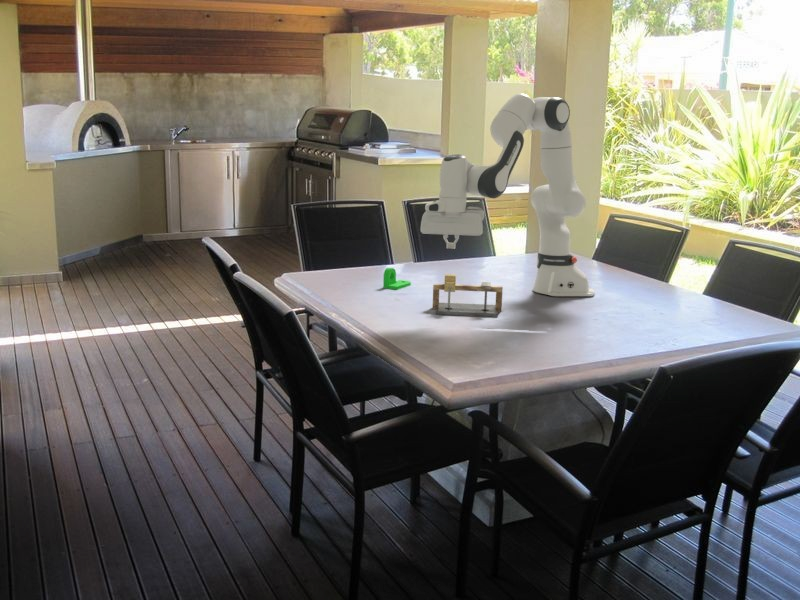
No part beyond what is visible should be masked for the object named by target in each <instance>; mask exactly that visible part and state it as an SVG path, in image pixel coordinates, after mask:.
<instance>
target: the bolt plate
mask: <svg viewBox="0 0 800 600" xmlns="http://www.w3.org/2000/svg"><path fill="white" fill-rule="evenodd" d="M495 306H496V304H486V310H484V303H483V304H481V303H459V302H456V303H455V302H450V308H448V302H439V305H437V308H436V309H435V315H436V316H437V315H439V316H440V315H441V316H444V315H445V316H462V317H463V316H465V317H485V318H498V313H499V311H497V308H496V307H495Z"/></svg>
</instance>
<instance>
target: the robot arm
mask: <svg viewBox="0 0 800 600" xmlns="http://www.w3.org/2000/svg"><path fill="white" fill-rule="evenodd" d="M570 111H571V110H570V106H569V104H568V102H567V100H565V99H564V98H561V97H558V96H557V97H555V96H553V97H552V96H551V97H547V96H546V97H545V96H539V97H534V98H531V97H530V96H529V95H528V94H525V93H516V94H514V95H512V96H511V97H510V98H509V99H507V101H506V102H505V103H504V104H503V105H502V107H501V108H500V109H499V111H498V112H497V114H496V115H495V116H494V118H493V119H492V121H491V124H490V128H489V129H490V135H491V137H492V139H493V140H494V141H495V143H496V144H497V145H499V147H501V148H502V149H501V151H500V154H499V156H498V158H497V160H496V161H495V163H494V164H491V165H488V166H486V165H477V164H475V163H472V162H470V161H469V160H468V159H467V156H466V155H464V154H451V155H450V154H449V155H446V156H445V157H443V159H442V161H441V165H440V171H439V186H440V190H439V196H438V199H437V200H433V201H431V202H430V201H429V202H428V203H426V204H425V207H424V209H425V211H424V213H423V214H422V217H421V221H420V228H419V230H420V233H421V234H424V235H442V236H443V237H442V238H443V240H444V241H445V244H446V246H445V247H446V249H451V250H452V249H456V244H457V243H458V241H459V240H460V236H471V237H472V236H476V237H477V236H478V237H480V236H481V235H482V234H483V233H484V230H483V229H484V228H483V227H484V226H483V225H484V224H483V221H484V219H485V215H486V214H485V210H484V209H483V208H481V207H479V206H469V205H468V206H467V199H468V198H467V197H468V196H467V195H471V196H477V197H478V196H480V197H484V198H489V199H497V198H500V197H501V196H502V195H503V194H504V193H505V191H506V189H507V187H508V184H509V183H508V182H509V179H510V177H511V175H512V172H513V170H514V168H515V165H516V163H517V161H518V159H519V157H520V154H521V152H522V150H523V147H524V144H525V143H524V142H525V138H524V136H523V135H524V133H525V132H526V130H528V131H529V130H530V131H539V132H540V140H539V141H540V143H539V144H540V145H539V149H540V168H541V169H540V170H541V172H542V173H543V175H544V177H545V179H546V181H547V184H544V185H539V186H537V187H536V188H534V189H533V191H532V192H531V196H530V204H531V206H532V208H534V209H533V210H534V211H535V213H536V216H537V222H538V227H539V246H538V247H539V249H538V253H537V257H536V268H537V270H536V271H537V272H536V275H535V280H534V284H533V286H532V287H533V288H532V291H533V292H535V293H537V294H543V295H548V296H551V297H593V296H595V290H594V288H591V287H590V284H589V278H588V276H587V275H586V274H585V273H584V272H583V271H582V270H581V269H580V268H578V267H577V266H576V265H575V264H576V263H577V262H578V258H577V257H575V256H573V255H572V254H570V251H571V237H572V234H571V231H570V229H569V228H568V226H567V223H566V219H569V218H570V219H571V218H576V217H579V216H581V214H582V213H583V212H584V211H585V208H586V203H587V202H586V200H587V199H586V197H585V195H584V193H583V192H582V190H580V188H579V185H578V182H577V180H576V177H575V172H574V167H573V166H574V165H573V149H572V147H573V146H572V145H573V144H572V143H573V142H572V134H571V127H570V124H569V119H570V116H571V115H570V114H571V113H570ZM451 235H452V236H454V241H453V242H449V241H448V238H449V236H451Z"/></svg>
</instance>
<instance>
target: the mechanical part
mask: <svg viewBox="0 0 800 600" xmlns="http://www.w3.org/2000/svg"><path fill="white" fill-rule="evenodd" d="M396 277H397V272H396V269H395V268H393V267H387V268H385V269H384V272H383V279H382V280H383V281H382V282H383V287H382V288H384V289H390V290H396V291H398V290H400V289H405V288H407V287H409V286H411V284H412V282H411V281H409V280H405V279H398V280H396V279H397V278H396Z"/></svg>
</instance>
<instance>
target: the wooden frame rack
mask: <svg viewBox="0 0 800 600" xmlns="http://www.w3.org/2000/svg"><path fill="white" fill-rule="evenodd" d="M444 284H445V283H433V285H432V287H433V288H432V291H433V292H432V309H434V310H436V308H437V305H439V303H440V290H442V291H444ZM455 291H462V292H468V291H469V292H484V303H483V304H484V310H486V305H488V304H487V303H488V301H487V299H488V292H489V293H490V292H491V293H495V305H496V306H495V307H496V308H497V312H502V308H503V307H502V306H503V305H502V304H503V291H504V287H503V285H492V282H488V281H482V282H481V285H480V284H479V285H478V284H476V285H475V284H458V283H456V284H455Z"/></svg>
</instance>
